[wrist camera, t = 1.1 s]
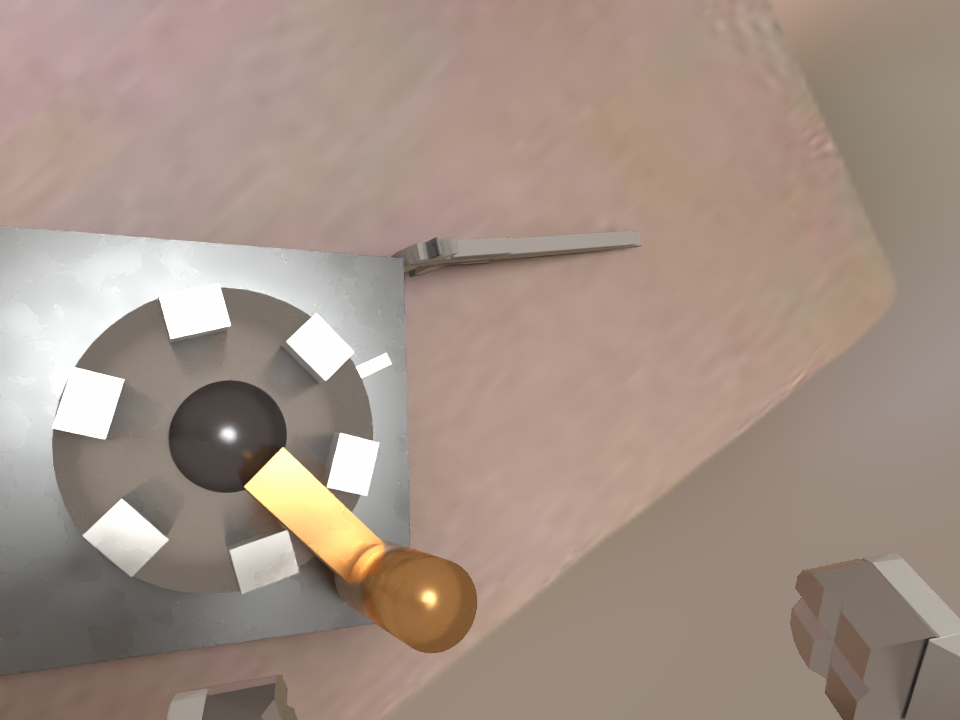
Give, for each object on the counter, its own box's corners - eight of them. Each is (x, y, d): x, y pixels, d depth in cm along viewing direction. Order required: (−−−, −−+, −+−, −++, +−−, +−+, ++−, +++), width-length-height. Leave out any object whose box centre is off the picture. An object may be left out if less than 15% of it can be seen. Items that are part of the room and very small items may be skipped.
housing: (-14, 657, 35) (-30, 680, 32) (2, 247, 38) (-11, 224, 34) (388, 604, 44) (412, 618, 40) (381, 273, 46) (404, 257, 42)
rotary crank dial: (-18, 444, 33) (-79, 439, 23) (220, 244, 38) (252, 171, 28) (290, 705, 37) (347, 793, 27) (465, 491, 42) (565, 501, 33)
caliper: (382, 282, 46) (417, 258, 41) (378, 265, 46) (413, 239, 41) (638, 247, 55) (696, 223, 50) (635, 233, 55) (693, 208, 50)
